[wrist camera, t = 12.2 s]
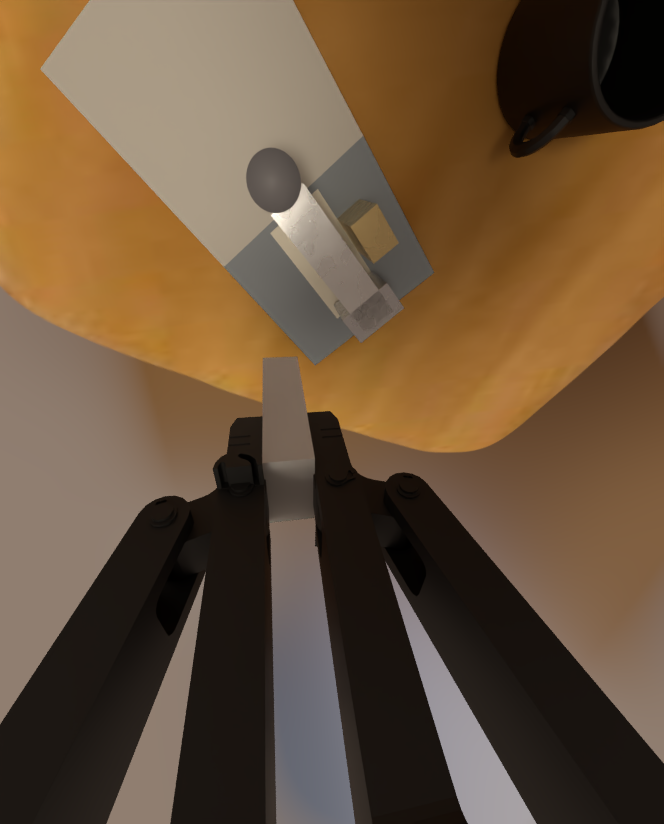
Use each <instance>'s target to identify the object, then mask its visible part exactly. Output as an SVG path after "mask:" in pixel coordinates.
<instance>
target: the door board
mask: <svg viewBox="0 0 664 824" xmlns="http://www.w3.org/2000/svg"><path fill="white" fill-rule="evenodd" d="M41 70H42V71H43V73H44V74H45V75H46V76H47V77H48V78H49V79H50V80H51V81H52V82H53V83H54V84H55V85H56V87H57V88H58V89H59V90H60V91H61V92H62V93H63V94H64V95H65V96H66V97H67V98H68V99H69V101H70V102H71V103H72V104H73V105H74V106H75V107H76V108H77V109H78V110H79V111H80V112H81V114H82V115H83V116H84V117H85V118H86V119H87V120H88V121H89V122H90V123H91V124H92V125H93V126H94V128H95V129H96V130H97V131H98V132H99V133H100V134H101V135H102V136H103V137H104V138H105V139H106V140H107V142H108V143H109V144H110V145H111V146H112V147H113V148H114V149H115V150H116V151H117V152H118V153H119V154H120V156H121V157H122V158H123V159H124V160H125V161H126V162H127V163H128V164H129V165H130V166H131V167H132V168H133V170H134V171H135V172H136V173H137V174H138V175H139V176H140V177H141V178H142V179H143V180H144V181H145V182H146V184H147V185H148V186H149V187H150V188H151V189H152V190H153V191H154V192H155V193H156V194H157V195H158V196H159V198H160V199H161V200H162V201H163V202H164V203H165V204H166V205H167V206H168V207H169V208H170V209H171V210H172V212H173V213H174V214H175V215H176V216H177V217H178V218H179V219H180V220H181V221H182V222H183V223H184V224H185V226H186V227H187V228H188V229H189V230H190V231H191V232H192V233H193V234H194V235H195V236H196V237H197V238H198V240H199V241H200V242H201V243H202V244H203V245H204V246H205V247H206V248H207V249H208V250H209V251H210V252H211V254H212V255H213V256H214V257H215V258H216V259H217V260H218V261H219V262H220V263H221V264H222V265H223V266H224V268H225V269H226V270H227V271H228V272H229V273H230V274H231V275H232V276H233V277H234V278H235V279H236V280H237V282H238V283H239V284H240V285H241V286H242V287H243V288H244V289H245V290H246V291H247V292H248V293H249V294H250V296H251V297H252V298H253V299H254V300H255V301H256V302H257V303H258V304H259V305H260V306H261V307H262V309H263V310H264V311H265V312H266V313H267V314H268V315H269V316H270V317H271V318H272V319H273V320H274V321H275V323H276V324H277V325H278V326H279V327H280V328H281V329H282V330H283V331H284V332H285V333H286V334H287V335H288V337H289V338H290V339H291V340H292V341H293V342H294V343H295V344H296V345H297V346H298V347H299V348H300V349H301V351H302V352H303V353H304V354H305V355H306V356H307V357H308V358H309V359H310V360H311V361H312V362H313V363H314V365H316V364H318V363H319V362H320V361H321V360H323V359H324V358H325V357H327V356H328V355H329V354H330V353H332V352H333V351H334V350H336V349H337V348H338V347H339V346H341V345H342V344H343V343H345V342H346V341H347V340H348V339H350V338H351V337H352V336H354V334H353V333H352V332H351V330H350V329H349V328H348V327H347V326H346V324H345V323H344V322H343V321H342V319H341V317H340V316H339V314H338V312H337V310H336V309H335V307H334V304H335V303H336V302H337V301H339V299H338V298H337V297H336V296H335V295H334V293H333V292H332V291H331V290H330V288H329V287H328V286H327V285H326V283H325V282H324V281H323V280H322V278H321V277H320V276H319V275H318V273H317V272H316V271H315V270H314V268H313V267H312V266H311V265H310V263H309V262H308V261H307V260H306V258H305V257H304V256H303V255H302V253H301V252H300V251H299V250H298V249H297V247H296V246H295V245H294V244H293V242H292V241H291V240H290V239H289V237H288V236H287V235H286V234H285V232H284V231H283V230H282V229H281V227H280V226H279V225H278V224H277V222H276V221H275V220H274V219H273V217H272V216H271V214H270V212H271V213H282V212H285V211H287V210H289V209H290V208H291V207H292V206H293V205H294V204H295V203H296V201H297V199H298V197H299V194H300V190H301V182H303V183H304V185H305V186H306V188H307V189H308V190H309V192H310V193H311V195H312V196H313V197H314V199H315V200H316V202H317V203H318V205H319V206H320V207H321V209H322V210H323V212H324V213H325V215H326V216H327V217H328V219H329V220H330V222H331V223H332V224H333V226H334V227H335V229H336V230H337V232H338V233H339V234H340V236H341V237H342V239H343V240H344V242H345V243H346V244H347V246H348V247H349V249H350V250H351V251H352V253H353V254H354V256H355V257H356V259H357V260H358V261H359V263H360V264H361V266H362V267H363V269H364V270H365V271H366V273H367V274H370V273H371V272H372V271H374V272H375V273H376V274H377V275H378V276H380V277H381V278H382V279H383V280H384V281H385V282H387V284H388V285H389V287H390V288H391V289H392V291H393V292H394V294H395V295H396V297H397V298H398V300H400V299H401V298H402V297H404V296H405V295H406V294H408V293H409V292H410V291H411V290H413V289H414V288H415V287H417V286H418V285H419V284H420V283H422V282H423V281H424V280H426V279H427V278H428V277H429V276H431V275H432V274H433V273H434V271H433V269H432V267H431V265H430V263H429V262H428V260H427V258H426V256H425V254H424V252H423V250H422V248H421V246H420V244H419V242H418V240H417V238H416V236H415V235H414V233H413V231H412V229H411V227H410V225H409V223H408V221H407V219H406V217H405V215H404V213H403V211H402V210H401V208H400V206H399V204H398V202H397V200H396V198H395V196H394V194H393V192H392V190H391V188H390V186H389V184H388V183H387V181H386V179H385V177H384V175H383V173H382V171H381V169H380V167H379V165H378V163H377V161H376V159H375V158H374V156H373V154H372V152H371V150H370V148H369V146H368V144H367V142H366V140H365V138H364V136H363V134H362V132H361V131H360V129H359V127H358V125H357V123H356V121H355V119H354V117H353V115H352V113H351V111H350V109H349V107H348V105H347V104H346V102H345V100H344V98H343V96H342V94H341V92H340V90H339V88H338V86H337V84H336V82H335V80H334V79H333V77H332V75H331V73H330V71H329V69H328V67H327V65H326V63H325V61H324V59H323V57H322V55H321V53H320V52H319V50H318V48H317V46H316V44H315V42H314V40H313V38H312V36H311V34H310V32H309V30H308V28H307V27H306V25H305V23H304V21H303V19H302V17H301V15H300V13H299V11H298V9H297V7H296V5H295V3H294V1H293V0H90V1H89V2H88V3H87V5H86V6H85V8H84V9H83V10H82V12H81V13H80V15H79V16H78V17H77V19H76V20H75V22H74V23H73V24H72V26H71V27H70V28H69V30H68V31H67V33H66V34H65V35H64V37H63V38H62V40H61V41H60V42H59V44H58V45H57V46H56V48H55V49H54V51H53V52H52V53H51V55H50V56H49V58H48V59H47V60H46V62H45V63H44V64H43V66H42V67H41ZM359 199H361V200H365V201H368V202H372V203H376V204H378V206H379V208H380V210H381V212H382V213H383V215H384V217H385V219H386V221H387V222H388V224H389V226H390V228H391V230H392V231H393V233H394V235H395V237H396V239H397V240H398V242H399V243H398V244H397V245H396V246H395V247H394V248H392V249H391V250H390V251H389V252H388V253H386V254H385V255H384V256H383V257H381V258H380V259H379V260H378V261H377V262H375V263H374V264H373V263H372V262H371V261H369V260H368V259H367V258H366V257H364V256H363V255H362V254H361V253H359V252H358V251H357V249H356V247H355V246H354V244H353V243H352V241H351V240H350V238H349V237H348V235H347V233H346V232H345V230H344V229H343V227H342V226H341V224H340V223H339V221H338V219H337V218H338V217H340V216H341V215H342V214H343V213H344V212H345V211H346V210H347V209H348V208H350V207H351V206H352V205H353V204H354V203H355V202H356V201H357V200H359Z"/></svg>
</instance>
